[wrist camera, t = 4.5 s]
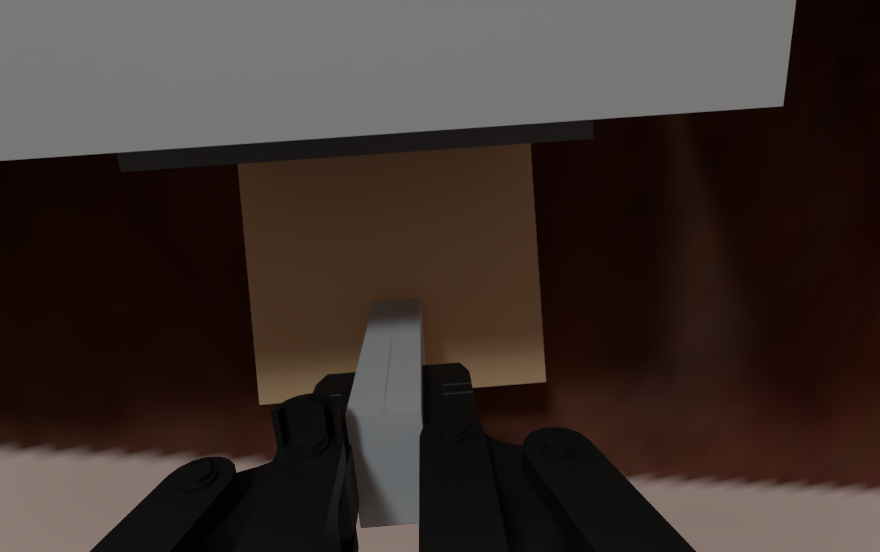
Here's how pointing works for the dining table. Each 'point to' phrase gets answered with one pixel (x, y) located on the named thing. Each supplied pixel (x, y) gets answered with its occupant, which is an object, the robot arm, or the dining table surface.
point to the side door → (393, 261)
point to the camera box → (366, 73)
